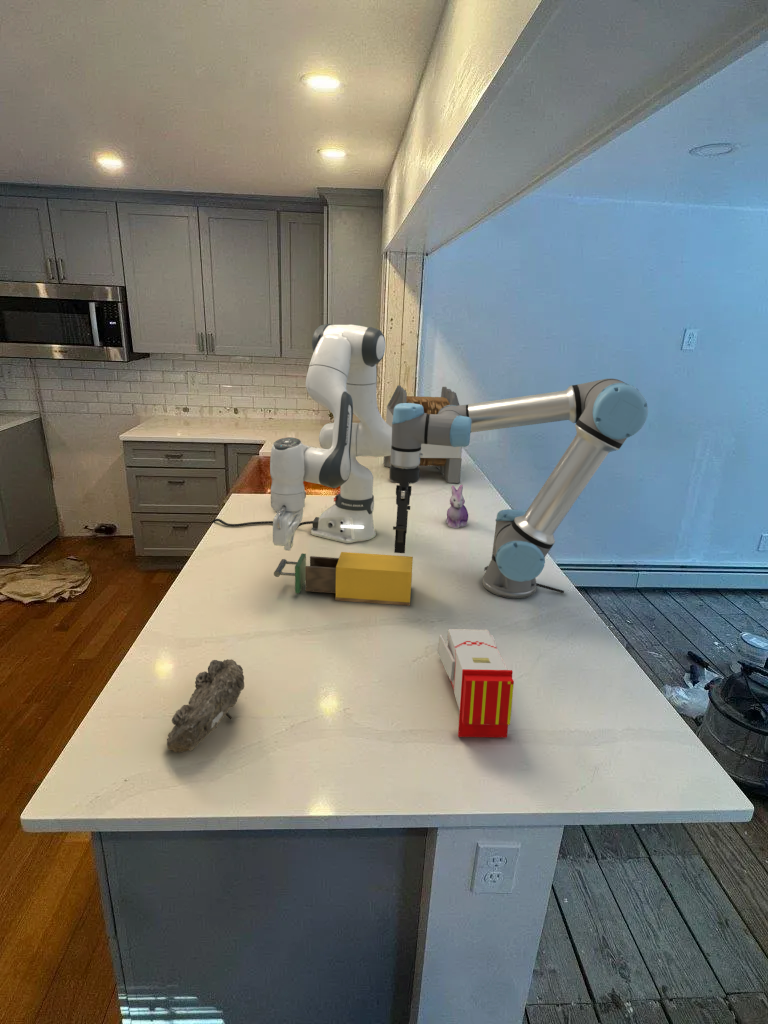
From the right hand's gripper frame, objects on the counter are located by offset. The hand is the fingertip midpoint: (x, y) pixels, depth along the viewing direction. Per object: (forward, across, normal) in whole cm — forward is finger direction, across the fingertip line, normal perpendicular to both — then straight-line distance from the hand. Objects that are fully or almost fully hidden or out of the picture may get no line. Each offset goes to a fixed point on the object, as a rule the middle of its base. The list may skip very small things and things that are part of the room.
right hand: (400, 542), depth 151 cm
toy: (+16, -40, -17) cm, 46 cm away
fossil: (+16, -54, +33) cm, 65 cm away
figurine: (+16, +59, -19) cm, 64 cm away
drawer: (+15, 0, +21) cm, 26 cm away
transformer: (+16, +126, -5) cm, 127 cm away
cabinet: (+16, 0, +6) cm, 17 cm away
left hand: (+4, 0, +30) cm, 31 cm away
